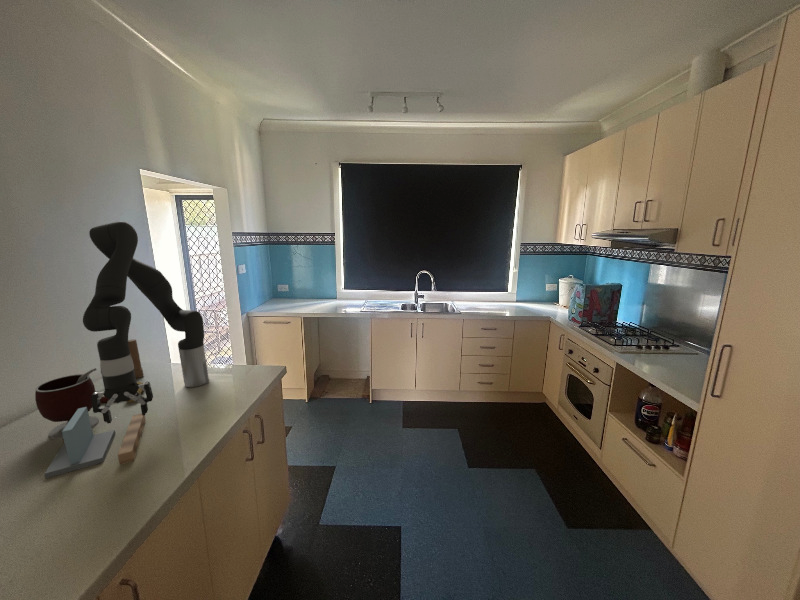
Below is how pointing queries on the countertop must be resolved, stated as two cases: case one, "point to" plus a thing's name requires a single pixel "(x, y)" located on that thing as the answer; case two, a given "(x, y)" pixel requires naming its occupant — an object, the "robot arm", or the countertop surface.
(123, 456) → the light wood bar
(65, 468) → the stand
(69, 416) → the mate gourd
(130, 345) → the wooden block
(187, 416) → the countertop surface
